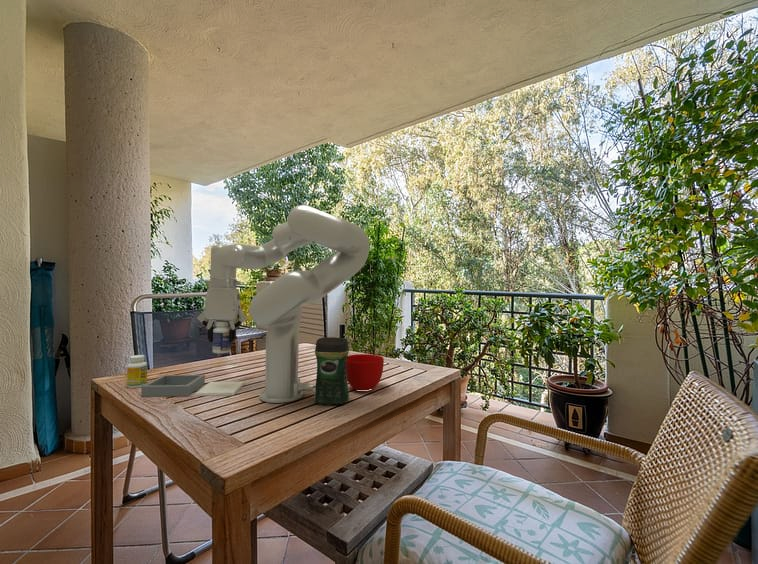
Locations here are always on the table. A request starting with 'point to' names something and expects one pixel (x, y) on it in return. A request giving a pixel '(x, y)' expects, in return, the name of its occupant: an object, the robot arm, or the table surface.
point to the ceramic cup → (364, 370)
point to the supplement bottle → (136, 372)
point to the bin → (173, 385)
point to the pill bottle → (221, 337)
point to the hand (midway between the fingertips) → (221, 341)
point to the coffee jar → (331, 371)
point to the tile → (220, 388)
